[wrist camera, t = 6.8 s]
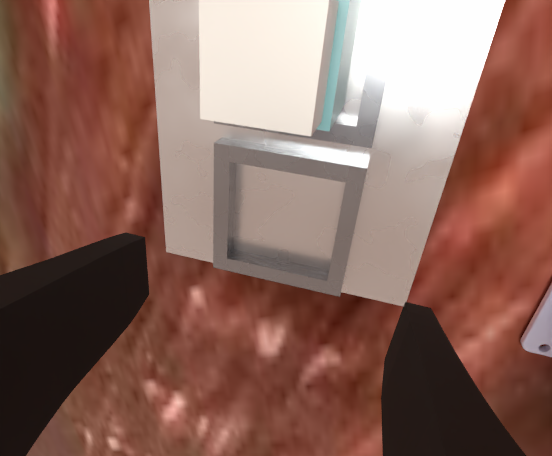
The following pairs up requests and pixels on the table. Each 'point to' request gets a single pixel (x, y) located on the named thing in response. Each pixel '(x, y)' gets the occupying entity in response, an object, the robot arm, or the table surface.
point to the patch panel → (323, 153)
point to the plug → (276, 62)
